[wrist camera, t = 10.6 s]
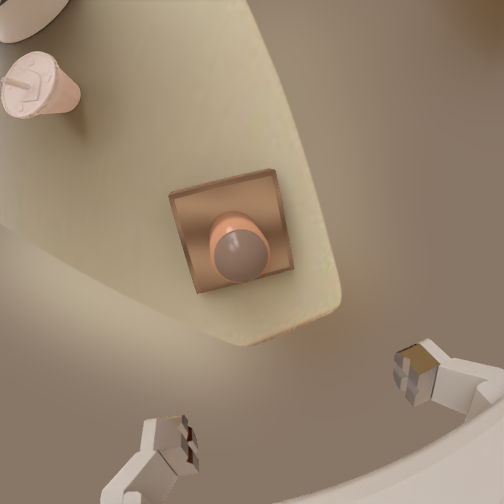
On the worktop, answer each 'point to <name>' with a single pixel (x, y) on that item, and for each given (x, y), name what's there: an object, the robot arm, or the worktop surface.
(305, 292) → the worktop surface
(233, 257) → the jar
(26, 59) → the smoothie
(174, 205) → the plinth
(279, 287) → the worktop surface
